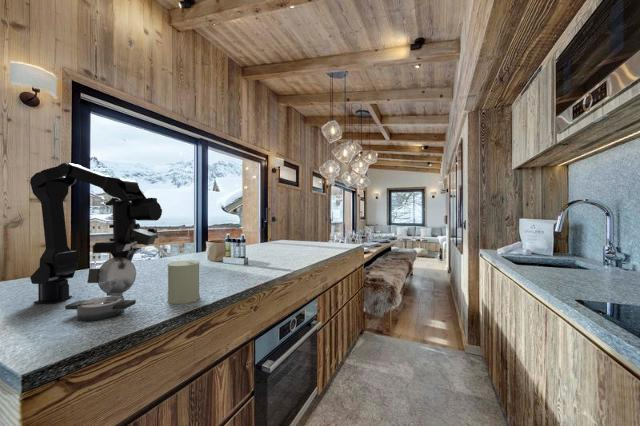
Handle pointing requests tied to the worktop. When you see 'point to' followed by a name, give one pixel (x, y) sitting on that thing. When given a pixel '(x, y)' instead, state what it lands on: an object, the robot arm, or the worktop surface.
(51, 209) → the robot arm
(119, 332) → the worktop surface
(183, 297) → the can
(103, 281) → the lid
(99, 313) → the pot
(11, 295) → the worktop surface
